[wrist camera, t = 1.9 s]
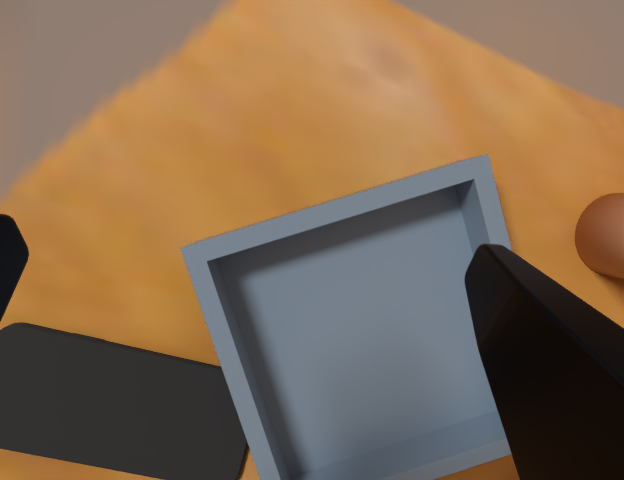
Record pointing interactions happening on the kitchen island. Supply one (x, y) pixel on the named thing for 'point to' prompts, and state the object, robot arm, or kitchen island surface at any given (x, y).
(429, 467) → the tray
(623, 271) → the tan rounded glossy part
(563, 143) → the kitchen island surface
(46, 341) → the phone
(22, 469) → the kitchen island surface
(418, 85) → the kitchen island surface
